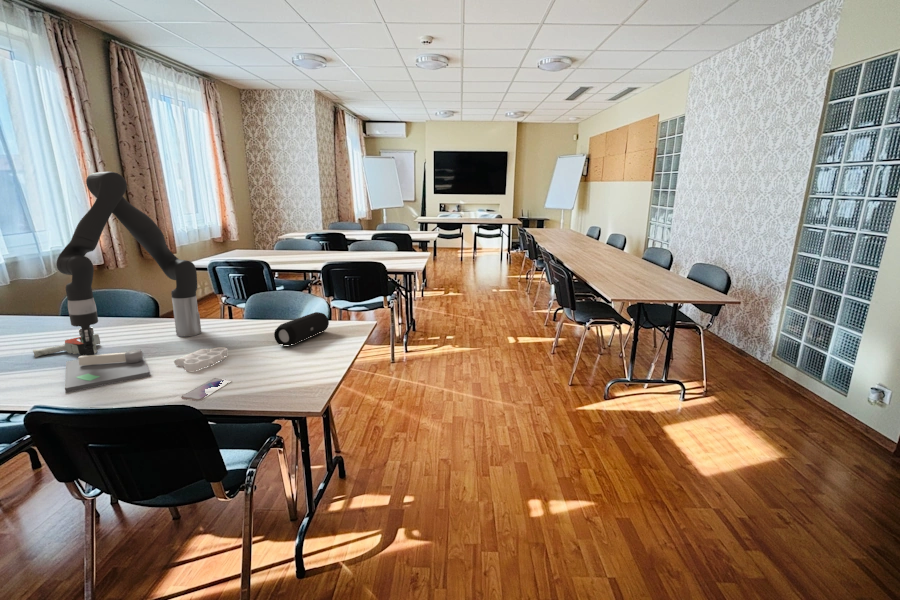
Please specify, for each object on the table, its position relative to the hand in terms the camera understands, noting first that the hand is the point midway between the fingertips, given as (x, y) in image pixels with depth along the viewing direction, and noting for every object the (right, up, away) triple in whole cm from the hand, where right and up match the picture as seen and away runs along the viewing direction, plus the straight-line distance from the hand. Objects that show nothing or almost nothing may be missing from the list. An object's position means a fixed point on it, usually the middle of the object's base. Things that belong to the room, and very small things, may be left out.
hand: (90, 357), depth 158 cm
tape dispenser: (-17, 0, +12) cm, 21 cm away
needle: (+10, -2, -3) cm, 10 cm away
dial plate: (+10, -4, -5) cm, 12 cm away
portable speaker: (+66, +3, +33) cm, 74 cm away
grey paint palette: (+38, -3, +5) cm, 39 cm away
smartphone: (+52, -9, -17) cm, 56 cm away
